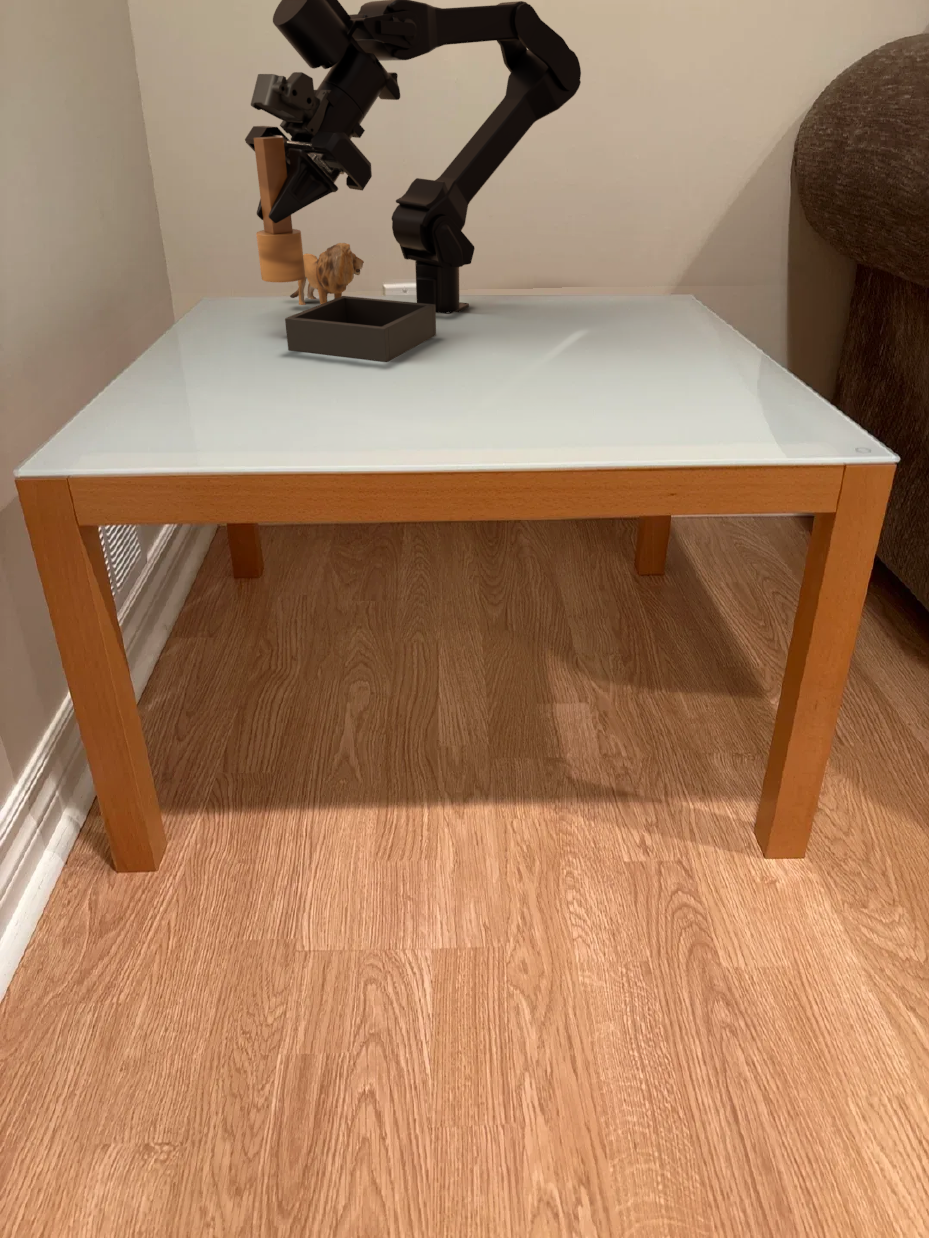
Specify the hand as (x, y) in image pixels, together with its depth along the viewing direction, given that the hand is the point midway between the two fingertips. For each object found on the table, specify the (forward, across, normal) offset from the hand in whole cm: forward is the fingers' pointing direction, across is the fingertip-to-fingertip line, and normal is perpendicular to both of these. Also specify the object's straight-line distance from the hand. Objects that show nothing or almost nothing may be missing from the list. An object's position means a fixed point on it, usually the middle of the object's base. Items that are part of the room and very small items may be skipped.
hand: (265, 219), depth 103 cm
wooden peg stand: (+4, 0, +6) cm, 7 cm away
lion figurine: (+1, -10, +19) cm, 21 cm away
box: (+5, +9, +14) cm, 17 cm away
